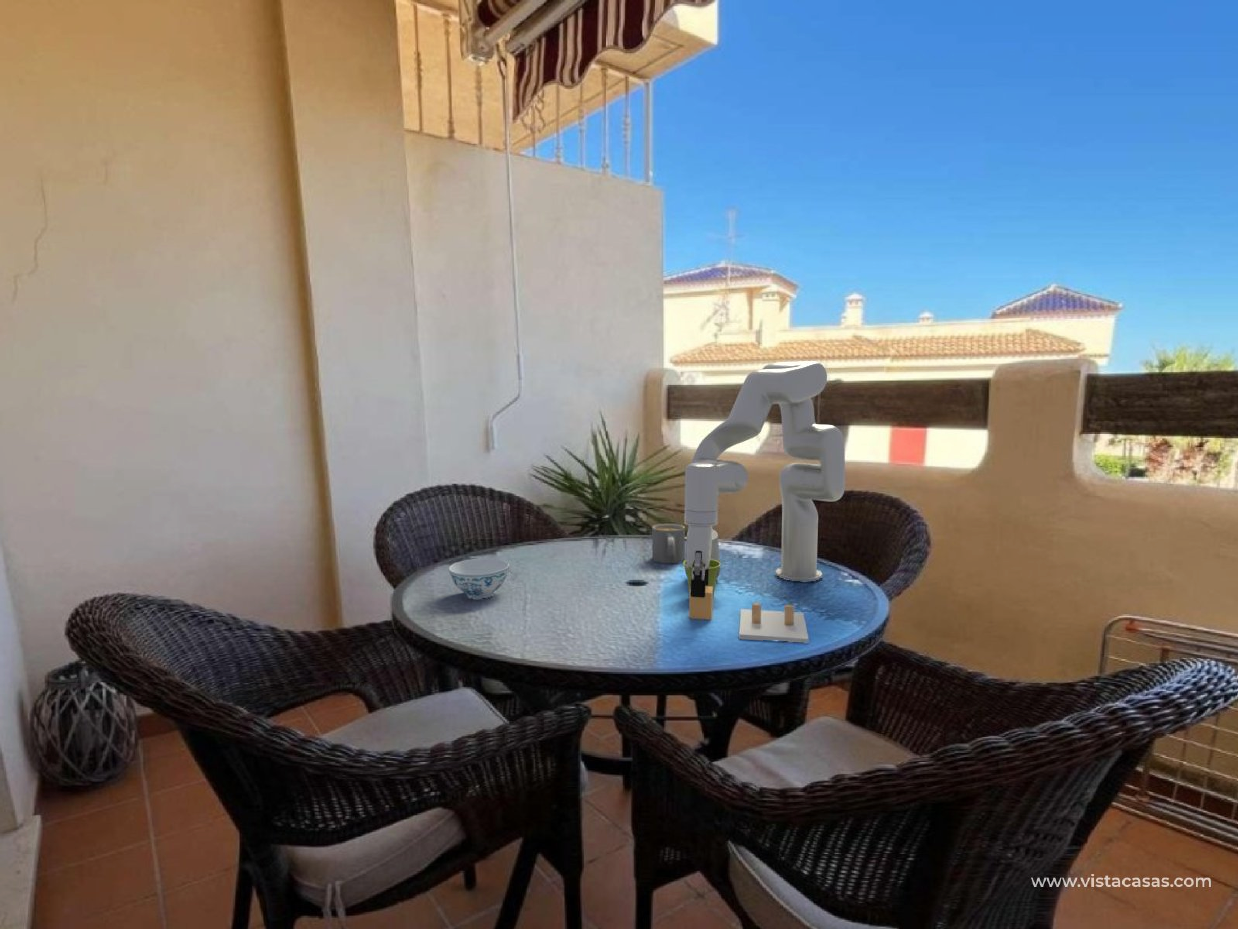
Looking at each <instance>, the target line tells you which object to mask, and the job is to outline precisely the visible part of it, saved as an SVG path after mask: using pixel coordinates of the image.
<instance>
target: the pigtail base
mask: <svg viewBox="0 0 1238 929" xmlns="http://www.w3.org/2000/svg"><path fill="white" fill-rule="evenodd" d="M739 620H740V621H739V630H738V632H739V633H738V634H739V635H738V639H739V640H751V641H752V640H753V641H763V640H778V641H788V642H787V643H793V642H808V643H809V634H808V630H807V624H806V619H805V615H804V612H801V611H800V612H799V611H798V612H797V611H795V606H794V605H792V604H786V605H784V611H781V610H780V611H779V610H764V609H762V604H761V603H759V602H753V603H751V609H746V608H741V609H740V619H739ZM778 641H777V642H778Z"/></svg>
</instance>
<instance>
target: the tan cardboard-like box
mask: <svg viewBox="0 0 1238 929" xmlns="http://www.w3.org/2000/svg"><path fill="white" fill-rule="evenodd" d="M688 595H689V596H688V597H689V600H688V601H689V602H688V604H689V606H688V607H689V608H688V609H689V610H688V612H689V614H688V616H689V619H692V620H693V619H696V620H708V621H709V620H711V621H712V618H713V612H714V611H713V610H714V597H713V587H710V586H705V597H704V598H701V597H691V589H690V592H689V591H688Z"/></svg>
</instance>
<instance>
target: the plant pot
mask: <svg viewBox="0 0 1238 929" xmlns="http://www.w3.org/2000/svg"><path fill="white" fill-rule="evenodd" d="M682 562H683V566H684V571H685V570H686V572H687V575H686V578H687V585H688V586H687V587H688V593H689V592H690V589H691V579H692V567H690V568H689V569H688V568H687V567H686V565H687V560H684V561H682ZM721 565H722V563H721V561H720V562H718V561H716V560H712V559H710V563H709V567H708V568H709V579H708V585H705V586H710V587H713V598H714V596H715V590H716V585H717V579H718V578H717V572H718V571H719V567H720V568H721ZM692 566H693V565H692ZM686 572H685V573H686ZM716 578H717V579H716Z"/></svg>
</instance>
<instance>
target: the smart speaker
mask: <svg viewBox="0 0 1238 929" xmlns="http://www.w3.org/2000/svg"><path fill="white" fill-rule="evenodd" d="M686 534H687V535H686V542H685V543H686V544H685V560H687V543H688V531H687V532H686ZM719 544H720V543H719V534H718V532H717V531H716V530H715V529H713V528H712V549H711V558H710V559H712V560H716V561H718V562H720V563H721V558H720V546H719ZM685 560H684V561H685ZM720 569H721V566H720V567H719V571H718V572H717V578H716V580H717V579H718V578H719V575H720V571H721V570H720ZM684 571H685V575H686V576H687V572H686V570H685V569H684Z"/></svg>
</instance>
